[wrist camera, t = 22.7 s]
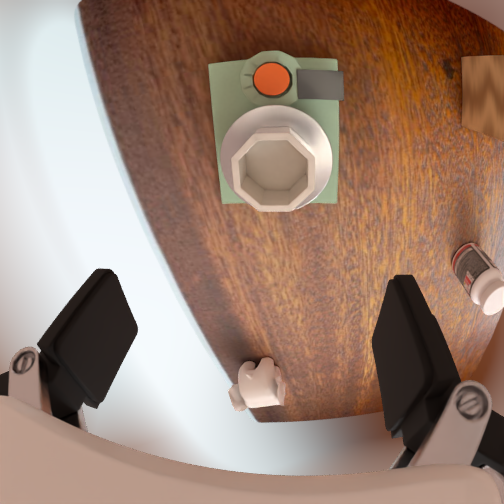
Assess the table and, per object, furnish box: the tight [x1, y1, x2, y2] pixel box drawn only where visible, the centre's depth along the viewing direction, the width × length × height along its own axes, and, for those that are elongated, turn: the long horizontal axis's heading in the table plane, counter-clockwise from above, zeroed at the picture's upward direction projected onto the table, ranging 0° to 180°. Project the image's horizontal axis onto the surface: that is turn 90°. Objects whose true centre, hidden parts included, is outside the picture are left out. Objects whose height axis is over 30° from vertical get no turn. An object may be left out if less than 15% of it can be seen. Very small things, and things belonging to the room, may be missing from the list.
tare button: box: [254, 63, 290, 95], centre depth 23 cm, size 3×3×2 cm
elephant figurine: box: [228, 357, 286, 411], centre depth 46 cm, size 10×12×9 cm
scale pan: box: [220, 70, 344, 212], centre depth 26 cm, size 14×12×1 cm
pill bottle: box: [452, 243, 504, 315], centre depth 29 cm, size 6×6×10 cm
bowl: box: [231, 127, 315, 211], centre depth 24 cm, size 7×7×4 cm
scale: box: [208, 51, 339, 204], centre depth 27 cm, size 16×13×3 cm
